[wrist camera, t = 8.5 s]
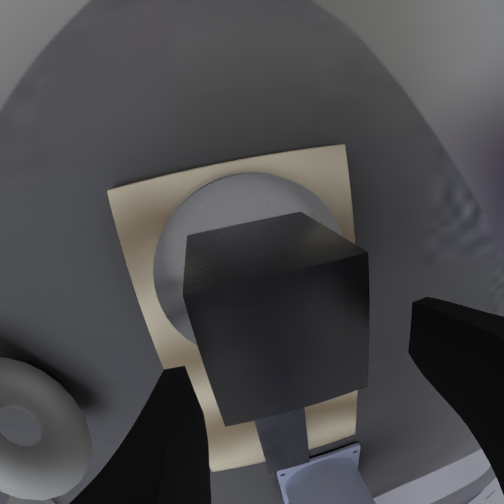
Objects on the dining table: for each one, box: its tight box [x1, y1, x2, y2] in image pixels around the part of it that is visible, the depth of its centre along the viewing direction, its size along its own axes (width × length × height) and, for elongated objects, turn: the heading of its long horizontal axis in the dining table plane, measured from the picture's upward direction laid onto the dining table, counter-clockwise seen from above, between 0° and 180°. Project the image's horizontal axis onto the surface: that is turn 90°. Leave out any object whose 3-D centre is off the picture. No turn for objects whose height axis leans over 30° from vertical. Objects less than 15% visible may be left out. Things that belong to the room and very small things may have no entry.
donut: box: [0, 358, 92, 500], centre depth 13 cm, size 10×4×10 cm, turn 55°
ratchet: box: [153, 171, 342, 473], centre depth 16 cm, size 21×9×4 cm, turn 10°
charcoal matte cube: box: [183, 212, 369, 427], centre depth 12 cm, size 5×5×6 cm
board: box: [107, 145, 358, 472], centre depth 19 cm, size 22×12×1 cm, turn 10°
